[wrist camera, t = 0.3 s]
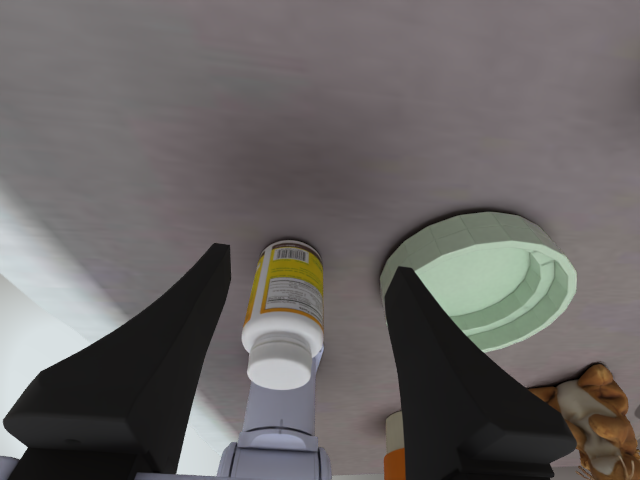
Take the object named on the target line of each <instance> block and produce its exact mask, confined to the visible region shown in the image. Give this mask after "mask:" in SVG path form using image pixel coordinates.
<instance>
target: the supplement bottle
mask: <svg viewBox="0 0 640 480" xmlns="http://www.w3.org/2000/svg"><path fill="white" fill-rule="evenodd" d="M323 337H324V331H323V264H322V260H321V257H320V256H319V254H318V253H317V251H316V250H315V249H313V248H312V247H311V246H309V245H307V244H305V243H303V242H299V241H294V240H284V241H279V242H276V243H273V244H271V245H270V246H268V247H267V248H266V249H265V250H264V251H263V252H262V253H261V255H260V257H259V261H258V265H257V269H256V274H255V278H254V283H253V287H252V291H251V296H250V300H249V304H248V309H247V313H246V317H245V322H244V326H243V331H242V343H243V346H244V347H245V349H246V350H247V352H248V353H249V363H248V369H247V374H248V377H249V378H250V380H251V381H253V382H254V383H255V384H257V385H259V386H262V387H265V388H269V389H275V390H289V389H295V388H298V387H301V386H303V385H305V384H306V383H307V382H308V381H309V380H310V377H311V366H312V358H313V357H315V356H316V355H317V354H318V353H319V351H320V350H321V348H322V345H323Z"/></svg>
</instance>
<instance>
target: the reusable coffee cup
mask: <svg viewBox="0 0 640 480" xmlns="http://www.w3.org/2000/svg"><path fill="white" fill-rule="evenodd" d="M386 450H387V455H386V456H385V457H384V479H385V480H406V477H405V450H404V434H403V419H402V411H400V412H397V413H394V414H392V415H390V416H389V417H388V418H387V419H386Z"/></svg>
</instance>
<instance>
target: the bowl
mask: <svg viewBox="0 0 640 480" xmlns="http://www.w3.org/2000/svg"><path fill="white" fill-rule="evenodd" d="M398 266H402V267H410V268H412V269H413V270H414V271H415V273H416V274H417V275H418V277H419V278H420V279H421V281H422V282H423V284H424V285H425V286H426V288H427V289H428V290H429V292H430V293H431V294H432V296H433V297H434V298H435V299H436V301H437V302H438V303H439V305H440V306H441V307H442V308H443V310H444V311H445V312H446V313H447V314H448V316H449V317H450V318H451V319H452V320H453V321H454V323H455V324H456V325H457V326H458V327H459V328H460V329H461V330H462V331H463V333H464V334H465V335H466V336H467V337H468V338H469V339H470V340H471V341H472V342H473V343H474V344H475V345H476V346H477V347H478V348H479V349H480V350H481V351H482V352H483V353H485V352H490V351H494V350H499V349H502V348H504V347H507V346H510V345H512V344H515V343H518V342H520V341H523V340H525V339H527V338H529V337H531V336H532V335H534V334H536V333H537V332H539V331H541V330H542V329H544V328H546V327H547V326H549V325H550V324H551V323H552V322H553V321H554V320H555V319H556V318H558V317H559V316H560V315H561V314H562V313H563V312H564V311H565V310H566V309H567V307H568V305H569V303H570V302H571V300H572V298H573V296H574V295H575V293H576V285H577V272H576V270H575V269H574V267H573V266H572V264H571V263H570V261H569V260H568V258H567V256H566V255H565V254H564V253H563V252H562V251H561V250H560V249H559V248H558V246H557V245H556V244H555V243H554V242H553V241H552V240H551V239H550V238H549V236H548V235H547V234H546V233H545V232H544V231H543V230H542V229H541V228H540V227H539V226H538V225H536V224H534V223H532V222H530V221H528V220H526V219H525V218H523V217H521V216H518V215H512V214H505V213H498V212H481V213H473V214H464V215H458V216H455V217H452V218H449V219H446V220H444V221H441V222H438V223H435V224H432V225H430V226H427V227H426V228H424V229H423V230H421V231H420V232H418V233H416V234H415V235H413V236H412V237H410V238H409V239H407V240H406V241H404V242H403V243H402V244H401V245H400V246H399V248H398V249H397V250H396V251H395V252H394V253H393V254H392V255H391V256H390V257H389V259H388V260H387V262H386V265H385V267H384V269H383V272H382V274H381V276H380V294H381V299H382V305H383V310H384V315H385V321H386V313H385V300H384V296H385V294H386V292H387V289H388V287H389V285H390V283H391V281H392V278H393V276H394V274H395V272H396V270H397V267H398ZM386 325H387V321H386ZM387 327H388V325H387Z"/></svg>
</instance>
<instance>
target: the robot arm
mask: <svg viewBox="0 0 640 480" xmlns="http://www.w3.org/2000/svg"><path fill="white" fill-rule="evenodd" d="M230 281H231V261H230V245H226V244H218V243H214V244H213V245H212V246H211V247H210V248H209V249H208V250H207V252H206V253H205V254H204V255H203V256H202V257H201V258H200V259H199V261H198V262H197V263H196V264H195V265H194V266H193V267H192V268H191V269H190V270H189V271H188V272H187V273H186V274H185V275H184V276H183V277H182V278H181V279H180V280H179V281H178V282H177V283H175V284H174V285H173V286H172V287H171V288H170V289H169V290H168V291H167V292H165V293H164V294H163V295H162V296H161V297H160V298H158V299H157V300H156V301H155V302H154V303H152V304H151V305H150V306H148V307H147V308H146V309H145V310H143V311H142V312H141V313H139V314H138V315H136V316H135V317H133V318H132V319H131V320H129V321H128V322H126V323H125V324H124V325H122V326H121V327H119V328H118V329H116V330H114V331H113V332H111V333H110V334H108V335H106V336H105V337H103V338H101V339H100V340H98V341H96V342H95V343H93V344H91V345H90V346H88V347H87V348H85V349H83V350H81V351H79V352H78V353H76V354H74V355H72V356H70V357H68V358H66V359H64V360H62V361H60V362H58V363H57V364H54V365H53V366H51V367H49V368H47V369H45V370H43V371H41V372H40V373H39V374H38V375H37V376H36V378H35V379H34V380H33V381H32V382H31V383H30V385H29V386H28V387H27V388H26V389H25V391H24V392H23V394H22V395H21V396H20V398H19V399H18V400H17V402H16V403H15V404H14V406H13V407H12V408H11V410H10V411H9V412H8V414H7V415H6V417H5V418H4V419H3V425H4V428H5V429H6V430H7V431H8V432H9V433H10V434H11V435H13V436H14V437H15V438H17V439H18V440H19V441H21V442H22V443H23V444H24V445H26V446H27V447H28V448H27V450H26V451H25V453H24V455H23V456H22V458H21V459H20V460H19V459H16V458H13V457H6V456H0V480H332V472H331V463H330V458H329V456H328V454H327V453H326V451H325V449H324V448H322V447H318V437H315V389H316V372H317V369H318V366H319V362H320V359H321V356H322V353H323V350H324V345H322V348H321V350H320V351H319V353H318V354H317V355H316V356H315V357H313V358H312V366H311V377H310V380H309V381H308V382H307V383H306V384H305V385H303V386H301V387H298V388H295V389H289V390H275V389H269V388H265V387H262V386H259V385H257V384H255V383H254V382H253V381H251V386H250V392H249V397H248V403H247V408H246V414H245V419H244V425H243V430H242V432H240V433H239V439H238V444H237V442H231V443H230V445H229V446H228V447H227V448H226V449H225V450H224V451H223V454H222V457H221V460H220V464H219V468H218V473H217V476H216V477H215V476H196V475H178V474H176V472H177V467H178V463H179V458H180V454H181V450H182V445H183V441H184V436H185V432H186V428H187V424H188V420H189V416H190V411H191V407H192V403H193V399H194V396H195V392H196V388H197V384H198V380H199V376H200V373H201V369H202V365H203V362H204V358H205V355H206V352H207V349H208V346H209V344H210V341H211V339H212V336H213V333H214V331H215V328H216V325H217V323H218V320H219V317H220V315H221V312H222V309H223V307H224V304H225V301H226V298H227V294H228V290H229V286H230ZM384 300H385V313H386V321H387V325H388V330H389V335H390V339H391V344H392V349H393V353H394V358H395V362H396V367H397V373H398V380H399V389H400V397H401V408H402V419H403V434H404V450H405V477H406V480H550V478H552V477H554V472H553V470H552V468H551V466H550V464H549V463H551V462H553V461H555V460H557V459H559V458H562V457H564V456H566V455H568V454H569V453H571V452H573V451H574V450H575V448H576V446H577V441H576V439H575V437H574V436H573V434H572V432H571V430H570V428H569V427H568V425H567V423H566V421H565V419H564V418H563V416H562V414H561V413H560V412H559V411H557V410H556V409H554V408H553V407H552V406H550V405H549V404H547V403H546V402H544V401H543V400H542V399H540V398H539V397H537V396H536V395H535V394H533V393H532V392H530V391H529V390H528V389H526V388H525V387H524V386H523V385H521V384H520V383H519V382H517V381H516V380H515V379H514V378H512V377H511V376H510V375H509V374H507V373H506V372H505V371H504V370H503V369H501V368H500V367H499V366H498V365H497V364H496V363H495V362H493V361H492V360H491V359H490V358H489V357H488V356H487V355H486V354H485V353H483V352H482V351H481V350H480V349H479V348H478V347H477V346H476V345H475V344H474V343H473V342H472V341H471V340H470V339H469V338H468V337H467V336H466V335H465V334H464V333H463V331H462V330H461V329H460V328H459V327H458V326H457V325H456V324H455V323H454V321H453V320H452V319H451V318H450V317H449V316H448V314H447V313H446V312H445V311H444V310H443V308H442V307H441V306H440V305H439V303H438V302H437V301H436V299H435V298H434V297H433V296H432V294H431V293H430V292H429V290H428V289H427V288H426V286H425V285H424V284H423V282H422V281H421V279H420V278H419V277H418V275H417V274H416V273H415V271H414V270H413V269H412V268H410V267H402V266H398V267H397V270H396V272H395V274H394V276H393V278H392V281H391V283H390V285H389V287H388V289H387V292H386V294H385V296H384Z"/></svg>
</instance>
